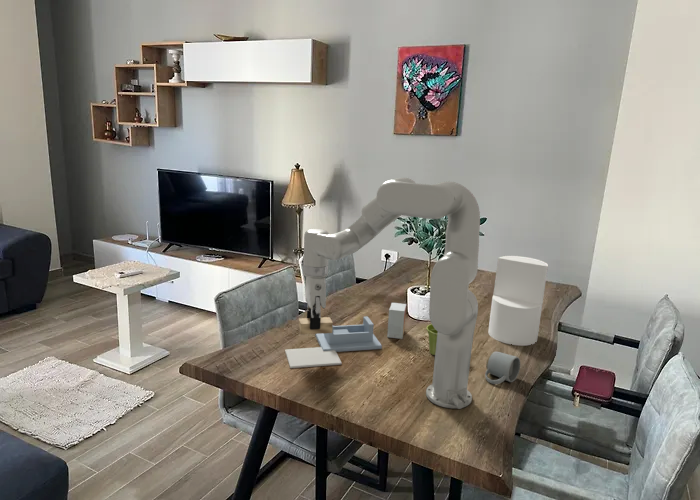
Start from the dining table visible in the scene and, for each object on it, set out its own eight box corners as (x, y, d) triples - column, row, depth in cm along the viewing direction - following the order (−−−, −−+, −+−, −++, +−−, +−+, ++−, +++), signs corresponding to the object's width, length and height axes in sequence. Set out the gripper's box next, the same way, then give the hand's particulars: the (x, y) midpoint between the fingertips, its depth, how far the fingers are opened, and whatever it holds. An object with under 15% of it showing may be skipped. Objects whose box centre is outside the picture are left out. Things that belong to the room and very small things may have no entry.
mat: (341, 364, 160) (341, 362, 159) (290, 368, 156) (290, 366, 155) (333, 347, 171) (333, 346, 171) (285, 351, 167) (285, 349, 167)
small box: (402, 339, 180) (404, 311, 178) (386, 337, 181) (388, 309, 179) (404, 330, 188) (407, 303, 185) (389, 329, 189) (391, 302, 186)
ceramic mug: (495, 368, 162) (497, 345, 160) (519, 377, 157) (522, 354, 155) (477, 379, 155) (480, 356, 153) (502, 389, 149) (505, 365, 147)
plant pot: (431, 360, 165) (433, 335, 163) (420, 347, 174) (422, 324, 172) (457, 358, 168) (460, 333, 166) (445, 346, 177) (447, 322, 175)
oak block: (329, 327, 165) (329, 317, 164) (332, 332, 160) (332, 322, 160) (298, 328, 162) (298, 318, 161) (300, 334, 158) (300, 324, 157)
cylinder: (495, 322, 200) (504, 253, 193) (541, 333, 192) (552, 261, 185) (482, 337, 185) (491, 262, 179) (531, 349, 177) (542, 272, 170)
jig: (369, 332, 185) (370, 312, 183) (381, 348, 172) (383, 327, 170) (315, 335, 180) (315, 315, 178) (323, 352, 167) (323, 331, 165)
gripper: (333, 277, 149) (330, 336, 154) (322, 262, 165) (319, 315, 169) (308, 278, 147) (306, 337, 152) (298, 262, 163) (297, 316, 168)
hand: (313, 325), depth 161 cm, fingers closed on oak block, 4 cm apart
